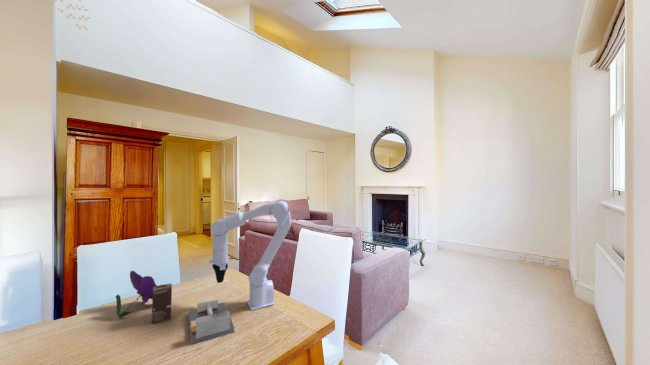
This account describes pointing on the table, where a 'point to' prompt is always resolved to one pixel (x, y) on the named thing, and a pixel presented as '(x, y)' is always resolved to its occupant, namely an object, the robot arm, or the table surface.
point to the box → (161, 302)
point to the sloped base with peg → (210, 323)
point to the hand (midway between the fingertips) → (220, 281)
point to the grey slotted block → (208, 305)
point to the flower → (138, 290)
